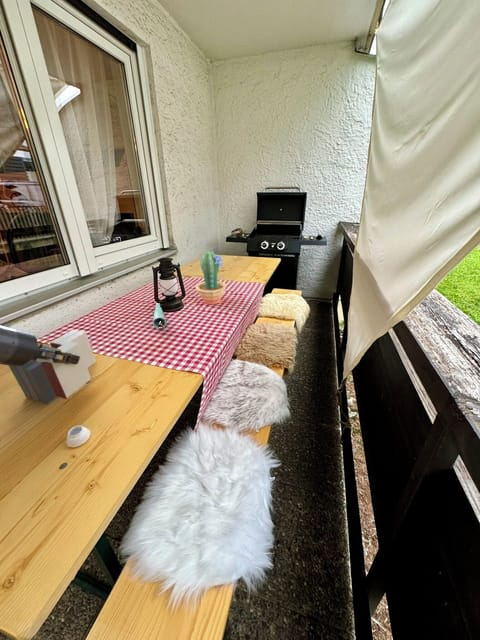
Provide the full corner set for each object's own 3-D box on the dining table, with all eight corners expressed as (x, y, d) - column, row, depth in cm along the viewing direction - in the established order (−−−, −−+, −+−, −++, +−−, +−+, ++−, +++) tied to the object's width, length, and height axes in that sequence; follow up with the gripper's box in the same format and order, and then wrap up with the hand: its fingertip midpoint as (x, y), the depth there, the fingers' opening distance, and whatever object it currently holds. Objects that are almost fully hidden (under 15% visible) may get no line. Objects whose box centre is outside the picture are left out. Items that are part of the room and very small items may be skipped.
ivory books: (63, 373, 83) (49, 342, 78) (84, 359, 90) (72, 329, 84) (76, 377, 82) (63, 345, 76) (96, 361, 89) (86, 331, 83)
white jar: (77, 428, 64) (62, 446, 60) (73, 420, 63) (57, 438, 59) (95, 431, 63) (81, 450, 59) (92, 423, 62) (77, 441, 58)
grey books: (26, 397, 74) (6, 361, 68) (51, 379, 81) (35, 345, 75) (47, 404, 72) (28, 367, 66) (72, 385, 78) (57, 349, 72)
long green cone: (161, 293, 128) (165, 316, 106) (163, 303, 131) (167, 328, 108) (150, 294, 127) (151, 318, 104) (152, 304, 129) (153, 330, 107)
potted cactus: (209, 310, 123) (204, 257, 111) (191, 300, 133) (185, 252, 121) (233, 300, 132) (231, 251, 120) (214, 292, 142) (211, 246, 130)
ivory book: (56, 396, 67) (38, 359, 62) (82, 376, 74) (68, 341, 69) (66, 399, 66) (49, 361, 61) (91, 378, 73) (78, 343, 68)
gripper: (34, 332, 51) (98, 349, 67) (-14, 322, 55) (57, 341, 71) (18, 369, 50) (87, 378, 65) (-30, 356, 54) (46, 367, 69)
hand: (71, 358), depth 68 cm, fingers closed on ivory book, 3 cm apart
